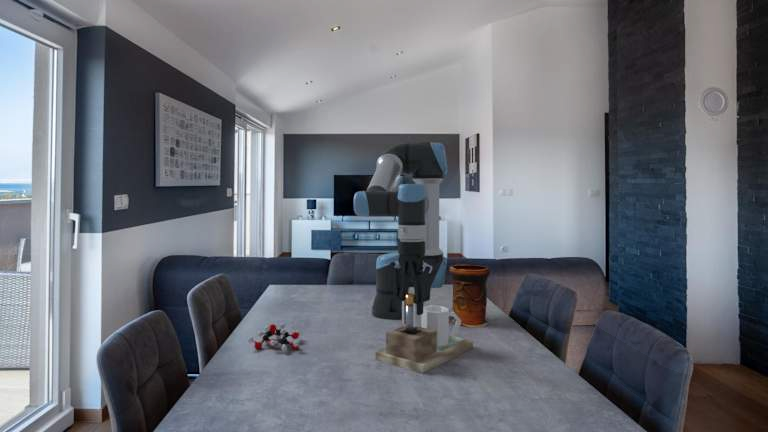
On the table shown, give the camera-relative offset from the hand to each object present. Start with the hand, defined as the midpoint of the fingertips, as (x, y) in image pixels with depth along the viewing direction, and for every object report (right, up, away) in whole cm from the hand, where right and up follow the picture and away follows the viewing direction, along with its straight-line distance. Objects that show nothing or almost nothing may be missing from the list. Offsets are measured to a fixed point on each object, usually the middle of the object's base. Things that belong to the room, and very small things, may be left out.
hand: (411, 324), depth 128 cm
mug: (+9, -7, +10) cm, 15 cm away
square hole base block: (+4, -10, +6) cm, 12 cm away
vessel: (+23, -8, +39) cm, 46 cm away
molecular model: (-39, -10, +13) cm, 43 cm away
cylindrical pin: (0, -4, 0) cm, 4 cm away
